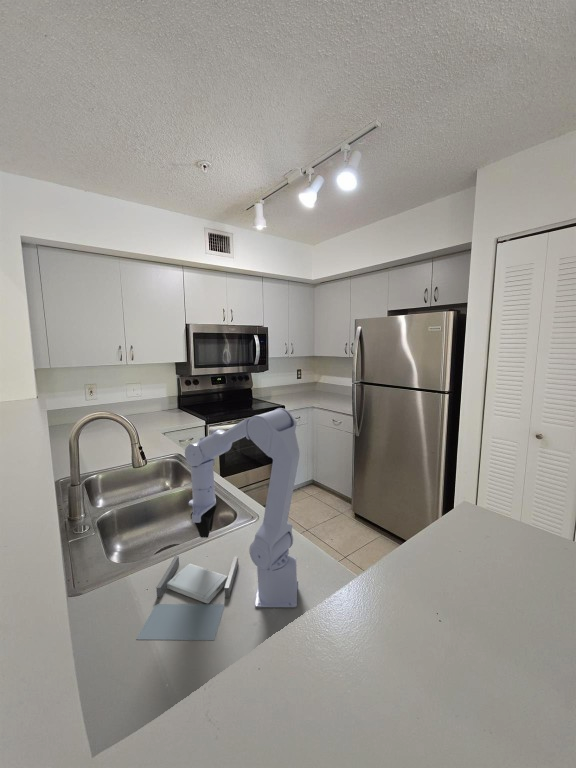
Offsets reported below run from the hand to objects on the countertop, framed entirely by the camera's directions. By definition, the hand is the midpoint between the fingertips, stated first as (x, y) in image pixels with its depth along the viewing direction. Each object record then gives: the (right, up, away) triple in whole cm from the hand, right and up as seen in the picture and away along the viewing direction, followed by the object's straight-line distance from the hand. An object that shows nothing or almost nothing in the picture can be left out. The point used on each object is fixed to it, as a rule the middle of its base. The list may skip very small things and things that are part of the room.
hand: (206, 533), depth 88 cm
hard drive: (0, -10, -7) cm, 12 cm away
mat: (0, -11, -18) cm, 21 cm away
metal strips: (0, -9, -6) cm, 11 cm away
